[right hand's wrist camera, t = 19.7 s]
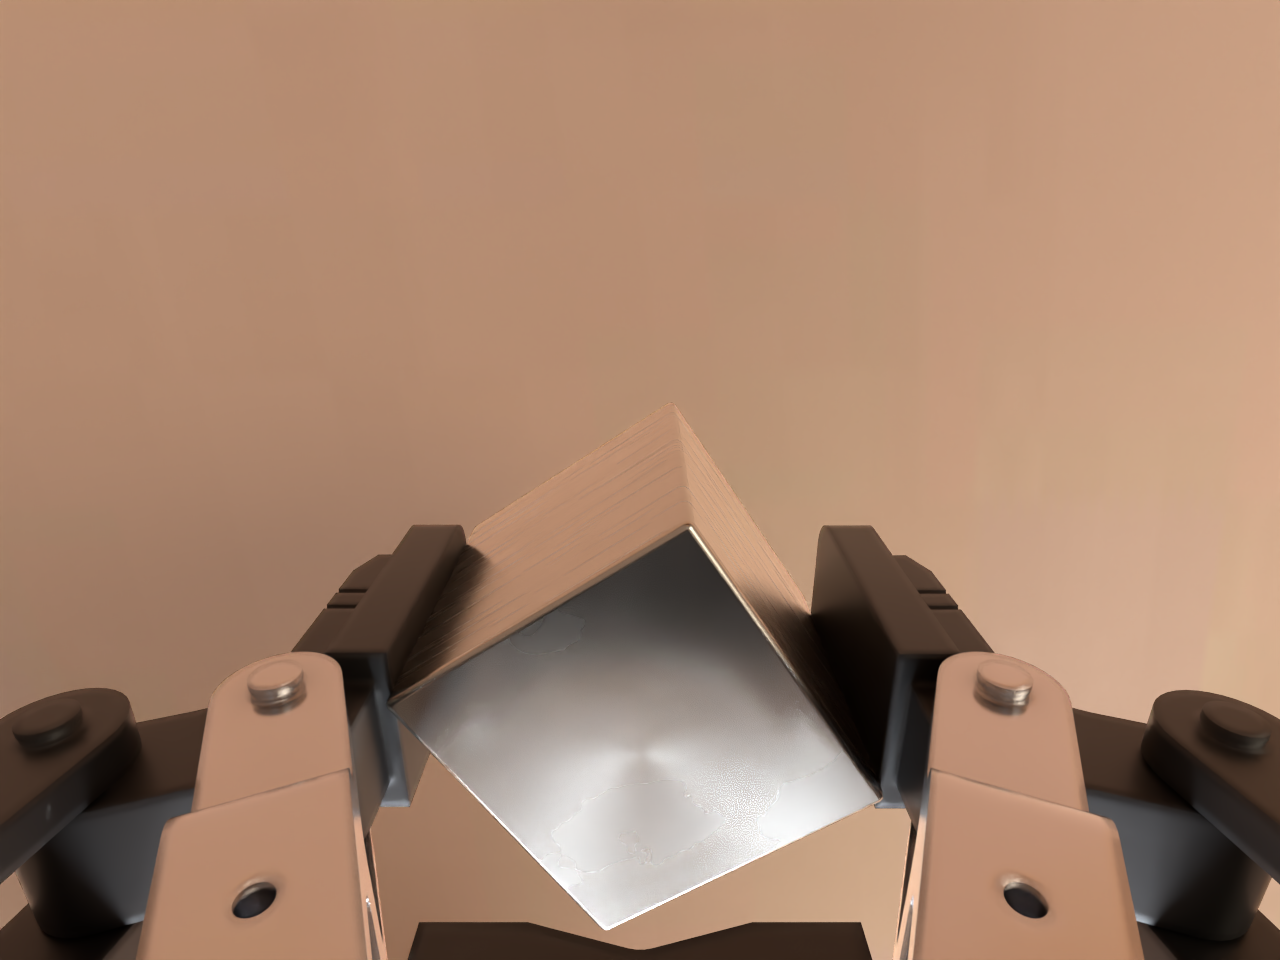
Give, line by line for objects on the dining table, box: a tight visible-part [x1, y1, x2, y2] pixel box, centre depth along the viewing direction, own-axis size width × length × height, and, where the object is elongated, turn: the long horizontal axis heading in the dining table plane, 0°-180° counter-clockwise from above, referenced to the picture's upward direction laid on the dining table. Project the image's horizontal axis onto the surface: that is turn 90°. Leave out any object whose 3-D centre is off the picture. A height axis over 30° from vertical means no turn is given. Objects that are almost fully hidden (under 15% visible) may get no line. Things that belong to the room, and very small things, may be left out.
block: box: [386, 403, 883, 930], centre depth 10 cm, size 4×4×5 cm
